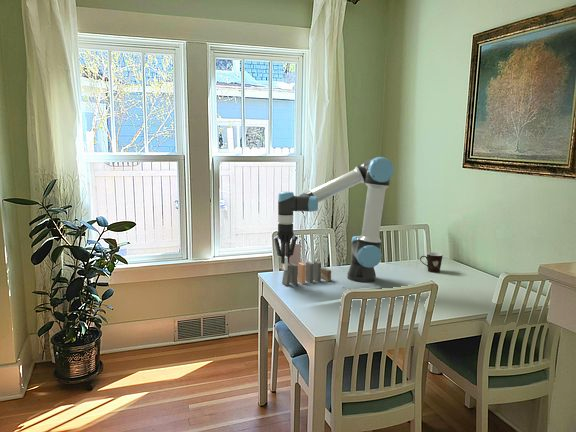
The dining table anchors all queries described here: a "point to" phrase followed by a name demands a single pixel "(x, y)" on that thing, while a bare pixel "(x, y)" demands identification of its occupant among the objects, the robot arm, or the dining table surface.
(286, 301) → the dining table surface
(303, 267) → the orange rectangular block
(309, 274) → the domino
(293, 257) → the greeting card
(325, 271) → the block
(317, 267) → the domino
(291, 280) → the domino
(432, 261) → the coffee mug
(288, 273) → the domino
